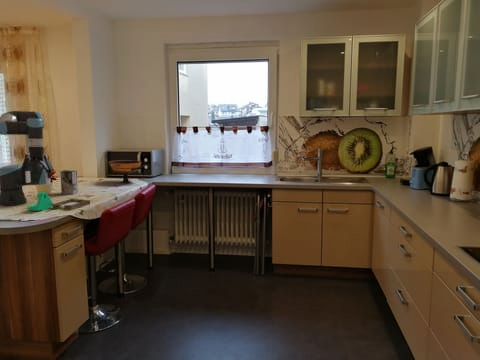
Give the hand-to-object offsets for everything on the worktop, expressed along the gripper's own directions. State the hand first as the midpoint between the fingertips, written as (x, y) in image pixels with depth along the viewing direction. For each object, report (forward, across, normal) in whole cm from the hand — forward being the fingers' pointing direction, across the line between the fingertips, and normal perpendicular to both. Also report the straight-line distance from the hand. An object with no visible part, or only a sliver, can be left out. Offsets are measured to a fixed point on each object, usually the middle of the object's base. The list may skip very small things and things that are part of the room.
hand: (38, 183), depth 213 cm
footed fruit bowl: (+15, -3, +99) cm, 100 cm away
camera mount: (+16, 0, 0) cm, 16 cm away
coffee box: (+15, -15, +45) cm, 50 cm away
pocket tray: (+15, +11, +13) cm, 23 cm away
